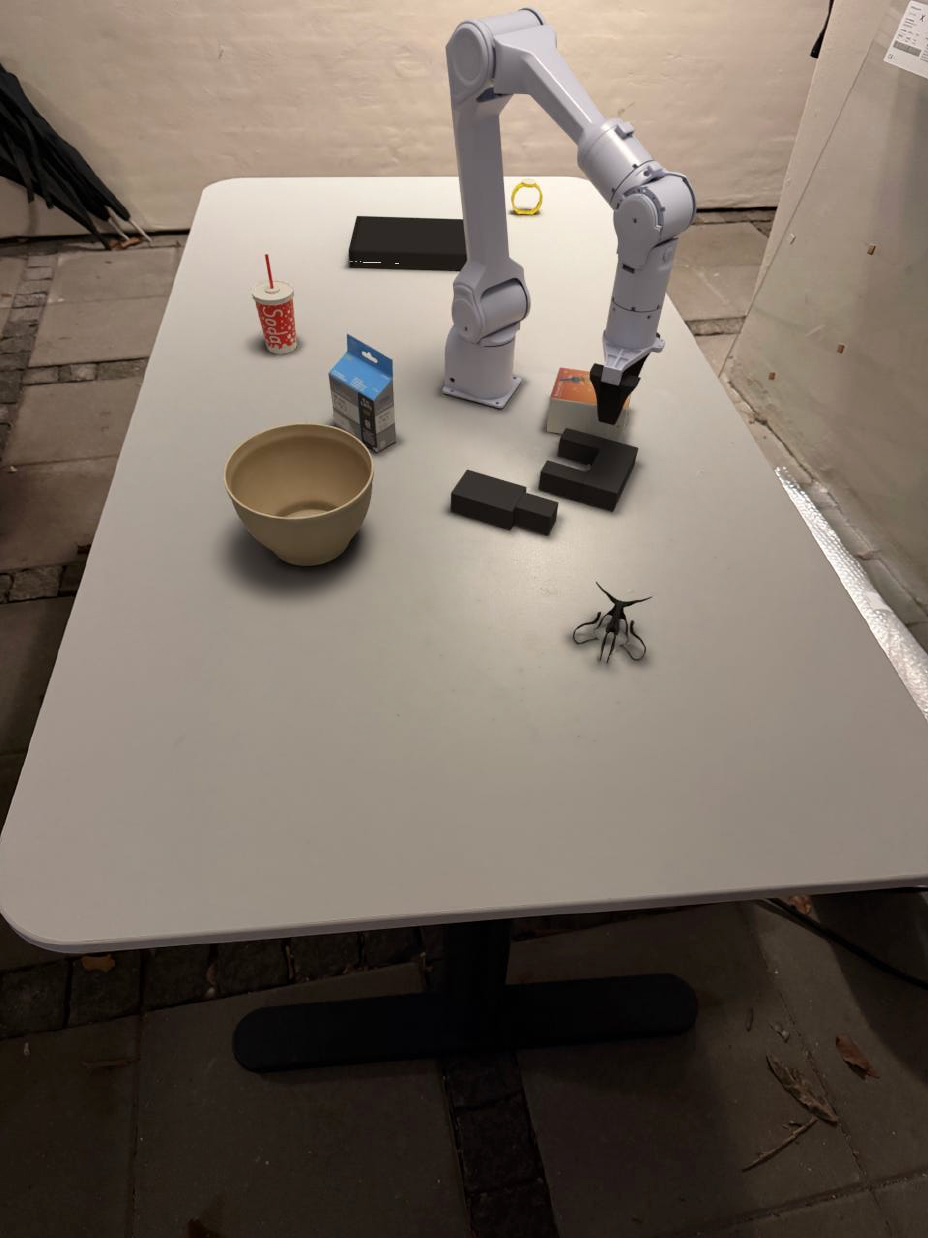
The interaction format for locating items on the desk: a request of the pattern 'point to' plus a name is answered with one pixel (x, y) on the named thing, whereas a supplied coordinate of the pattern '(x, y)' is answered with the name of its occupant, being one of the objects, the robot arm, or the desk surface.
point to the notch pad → (604, 475)
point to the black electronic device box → (408, 243)
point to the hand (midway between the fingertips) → (615, 404)
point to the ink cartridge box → (364, 395)
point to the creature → (614, 622)
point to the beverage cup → (276, 313)
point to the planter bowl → (301, 489)
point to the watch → (529, 184)
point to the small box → (580, 407)
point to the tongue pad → (502, 503)
